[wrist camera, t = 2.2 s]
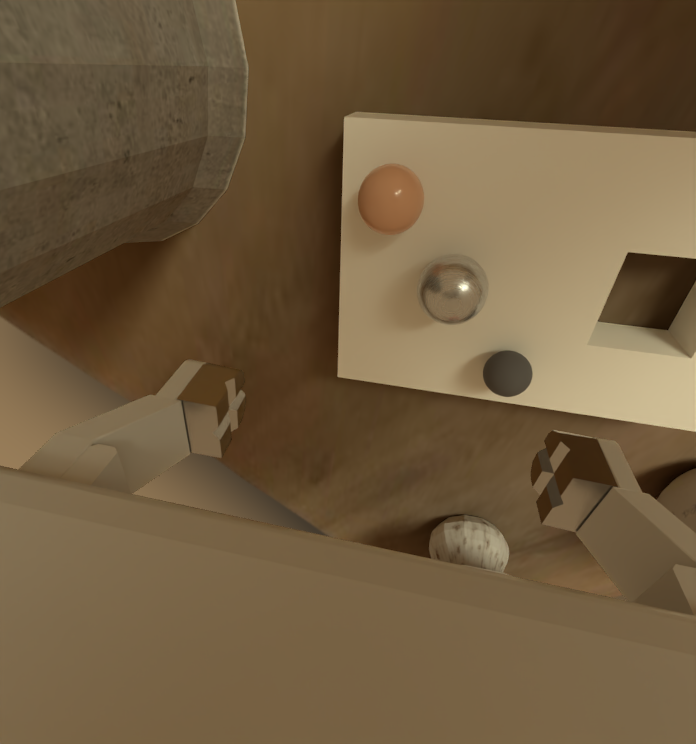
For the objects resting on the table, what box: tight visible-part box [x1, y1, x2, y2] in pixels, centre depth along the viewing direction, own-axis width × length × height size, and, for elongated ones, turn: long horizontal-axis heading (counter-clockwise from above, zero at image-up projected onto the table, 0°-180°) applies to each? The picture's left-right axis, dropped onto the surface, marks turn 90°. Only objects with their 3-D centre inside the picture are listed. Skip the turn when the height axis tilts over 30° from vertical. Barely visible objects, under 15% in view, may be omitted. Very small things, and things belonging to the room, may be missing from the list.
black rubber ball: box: [483, 350, 533, 397], centre depth 27 cm, size 3×3×3 cm
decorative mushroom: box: [429, 515, 510, 576], centre depth 39 cm, size 14×14×15 cm
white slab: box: [338, 112, 696, 432], centre depth 26 cm, size 25×17×4 cm
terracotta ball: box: [358, 164, 424, 235], centre depth 22 cm, size 4×4×4 cm
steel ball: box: [417, 254, 489, 325], centre depth 24 cm, size 4×4×4 cm
